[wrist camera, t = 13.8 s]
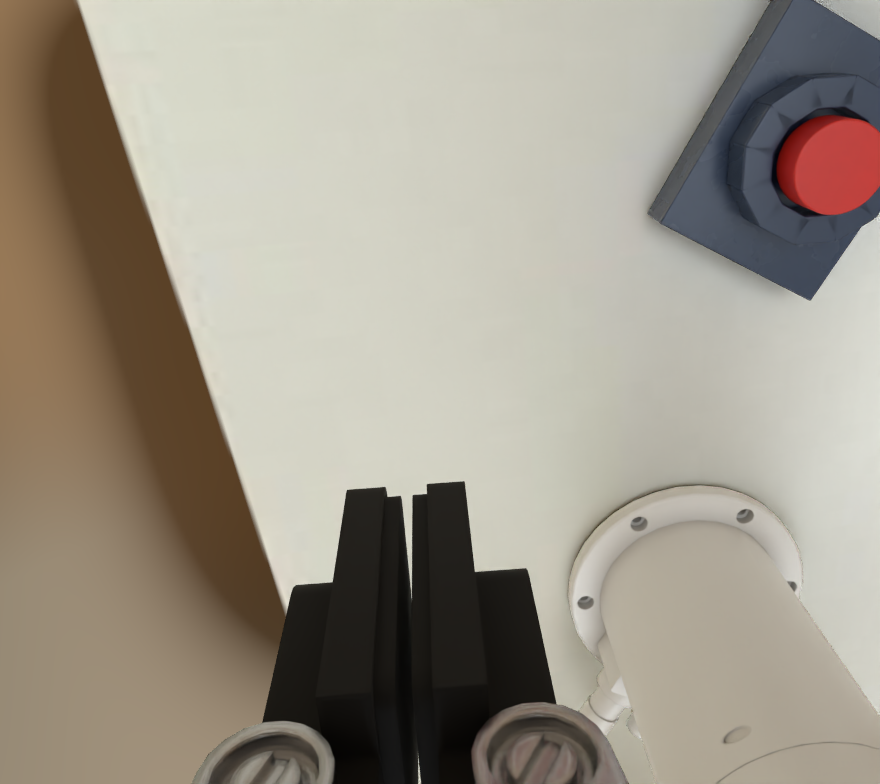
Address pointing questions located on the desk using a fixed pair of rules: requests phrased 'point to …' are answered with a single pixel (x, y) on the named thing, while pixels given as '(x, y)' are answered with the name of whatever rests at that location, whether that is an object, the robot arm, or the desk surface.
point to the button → (830, 164)
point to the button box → (775, 147)
